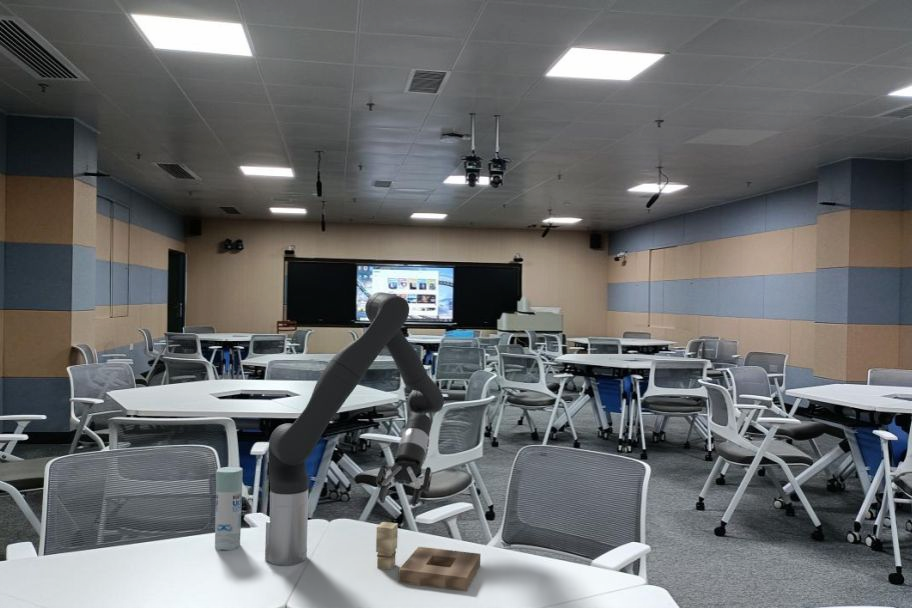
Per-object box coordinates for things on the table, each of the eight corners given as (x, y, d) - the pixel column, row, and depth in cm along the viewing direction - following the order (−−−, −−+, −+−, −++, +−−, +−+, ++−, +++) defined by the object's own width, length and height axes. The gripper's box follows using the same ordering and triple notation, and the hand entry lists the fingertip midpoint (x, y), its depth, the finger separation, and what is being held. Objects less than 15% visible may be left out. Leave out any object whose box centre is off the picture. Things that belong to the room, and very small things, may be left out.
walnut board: (398, 582, 148) (399, 569, 148) (418, 558, 163) (418, 546, 163) (466, 591, 144) (466, 577, 144) (480, 565, 159) (480, 553, 159)
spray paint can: (235, 551, 165) (237, 472, 165) (210, 550, 165) (212, 472, 165) (244, 542, 171) (246, 466, 171) (219, 541, 171) (221, 466, 171)
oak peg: (375, 568, 156) (376, 526, 156) (381, 562, 160) (382, 521, 160) (391, 570, 155) (392, 528, 155) (396, 564, 159) (397, 523, 159)
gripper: (384, 439, 175) (367, 493, 164) (434, 443, 171) (421, 498, 160) (390, 454, 180) (374, 507, 169) (439, 458, 177) (426, 513, 165)
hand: (397, 503), depth 164 cm, fingers open, 8 cm apart
